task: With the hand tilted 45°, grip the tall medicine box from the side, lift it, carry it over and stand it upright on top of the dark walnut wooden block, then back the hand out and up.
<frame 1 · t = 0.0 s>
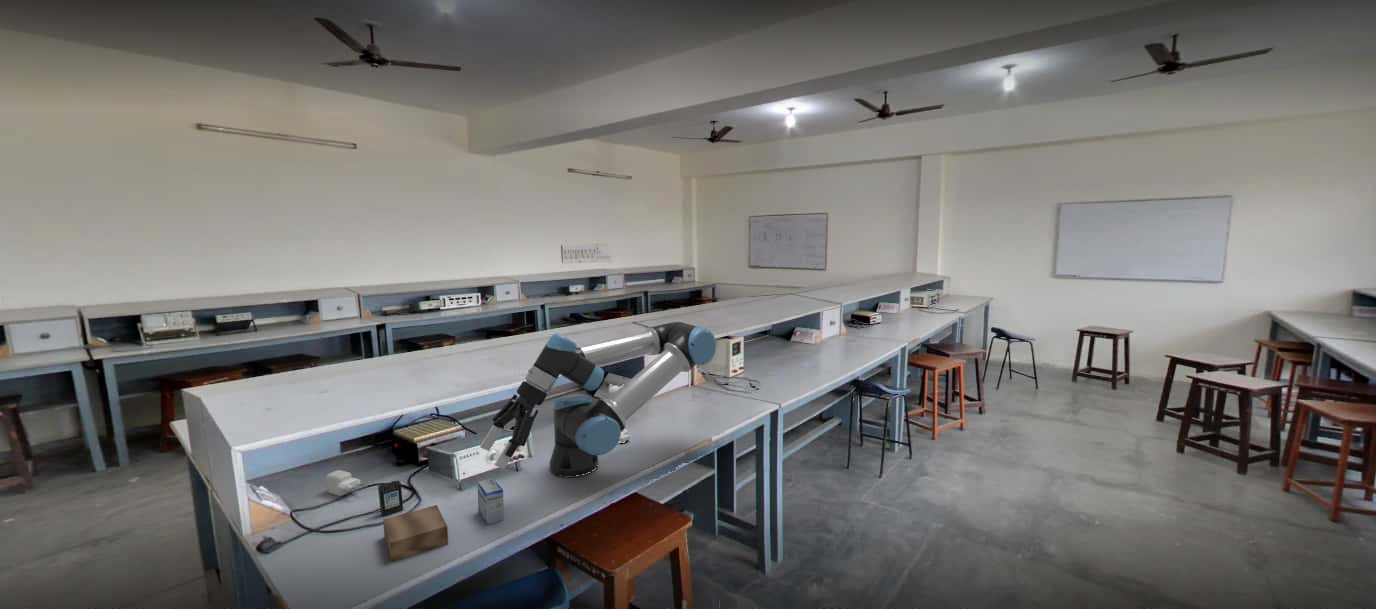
hand: (491, 457, 139), 15 cm above the table, tool tilted 35°, fingers open, 13 cm apart
power adapter: (346, 495, 150), on the table
ink cartridge: (391, 512, 141), on the table
walnut block: (416, 541, 128), on the table
joystick: (618, 438, 193), on the table
medicine box: (491, 517, 139), on the table
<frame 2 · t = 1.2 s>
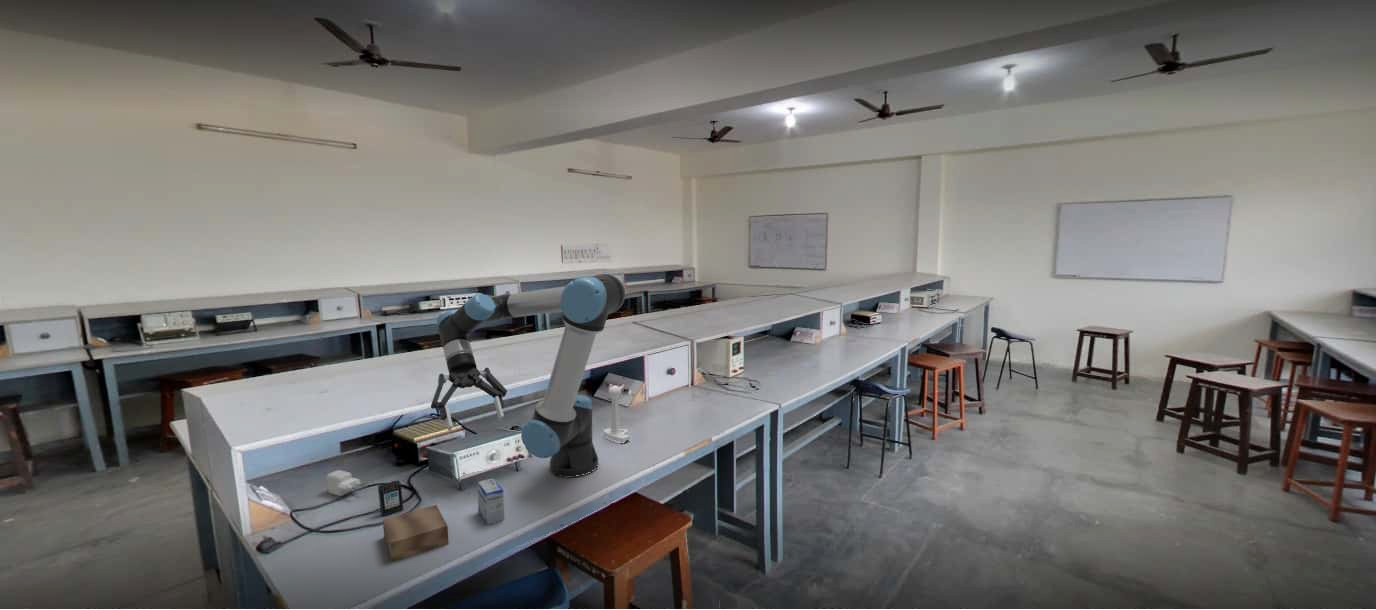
hand: (476, 423, 146), 22 cm above the table, tool tilted 45°, fingers open, 13 cm apart
nothing on the table moved.
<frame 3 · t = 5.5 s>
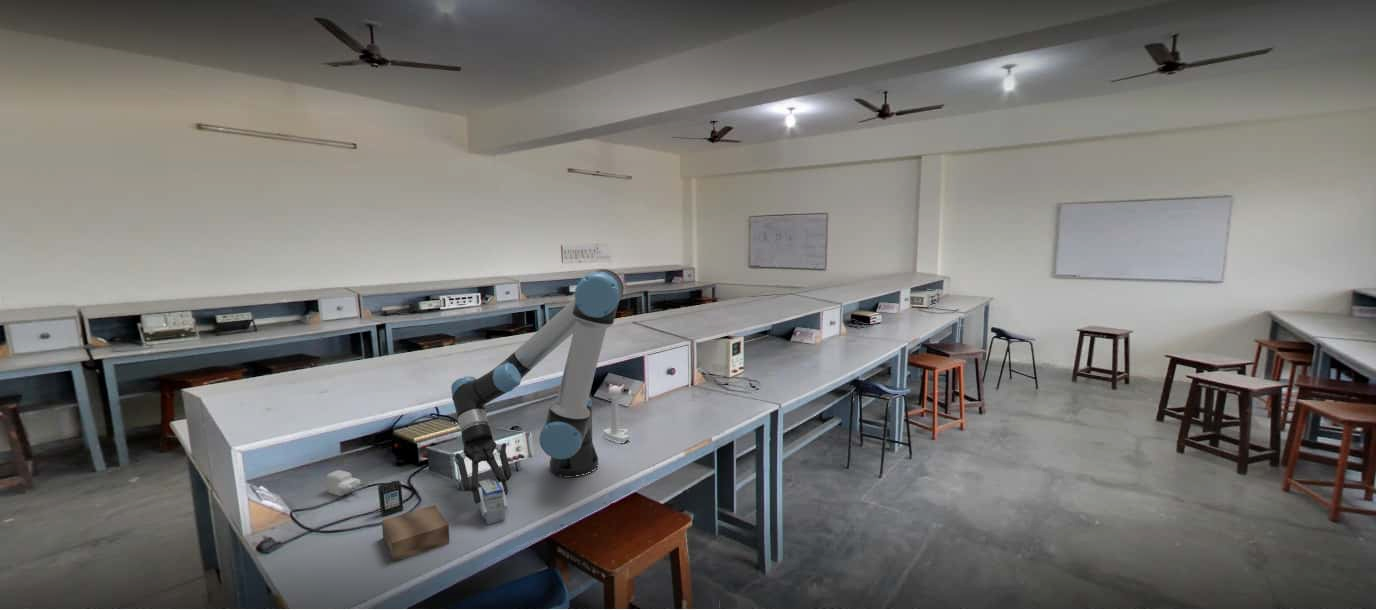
hand: (495, 510, 136), 3 cm above the table, tool tilted 45°, fingers closed on medicine box, 4 cm apart
medicine box: (491, 516, 139), on the table, touching gripper
everything else where it was.
when the fingers open (10 cm above the table, at t = 9.8 s): medicine box drops 2 cm, point 4 cm above the table.
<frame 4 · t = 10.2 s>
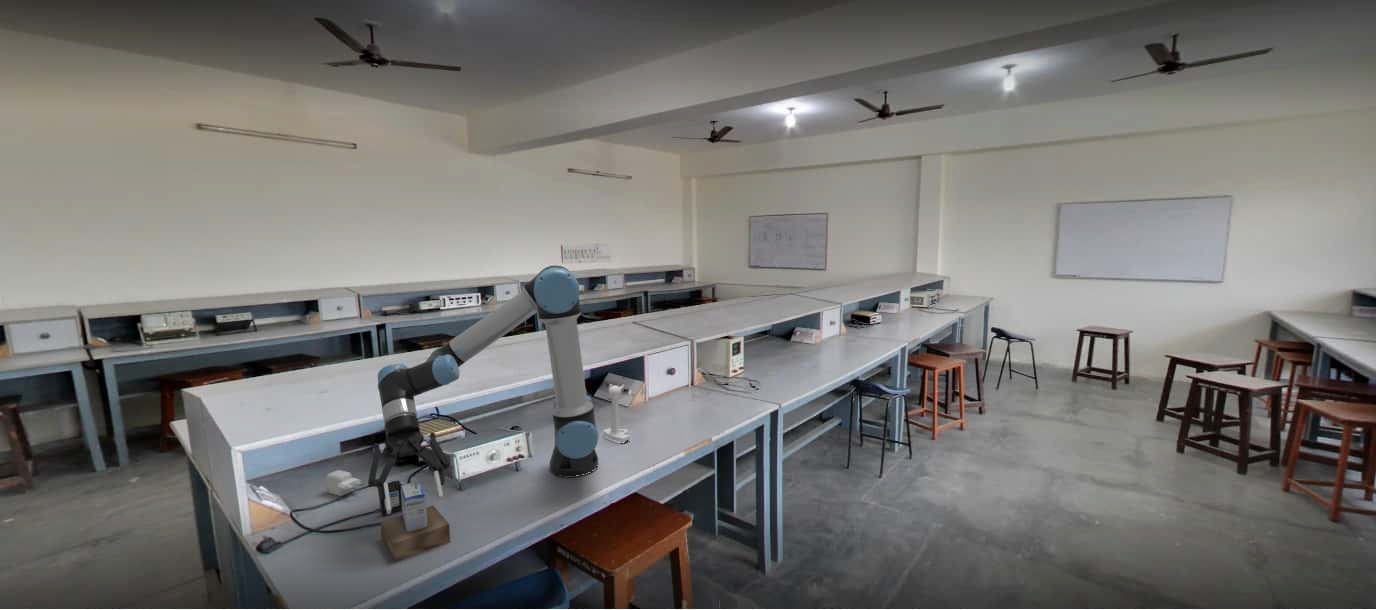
hand: (415, 504, 124), 11 cm above the table, tool tilted 45°, fingers open, 10 cm apart
medicine box: (415, 523, 128), point 4 cm above the table
everything else where it was.
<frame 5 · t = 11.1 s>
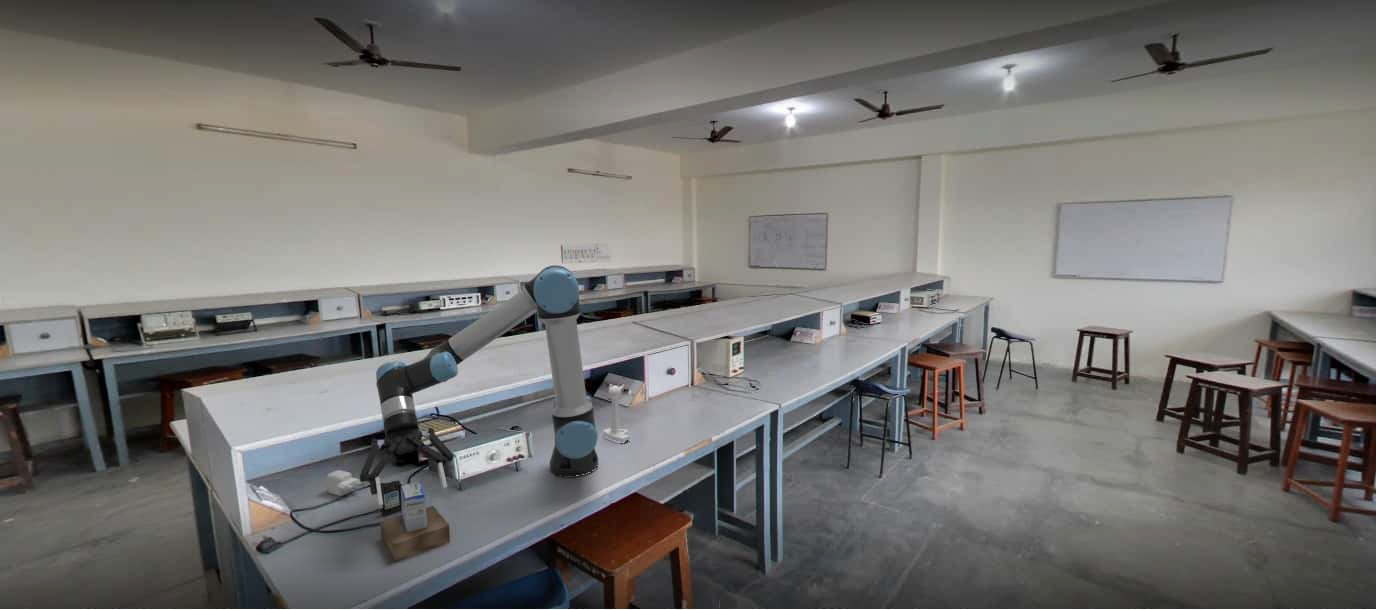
hand: (414, 497, 125), 12 cm above the table, tool tilted 45°, fingers open, 13 cm apart
walnut block: (415, 543, 128), on the table, touching medicine box
medicine box: (414, 523, 128), point 4 cm above the table, touching walnut block
everything else where it was.
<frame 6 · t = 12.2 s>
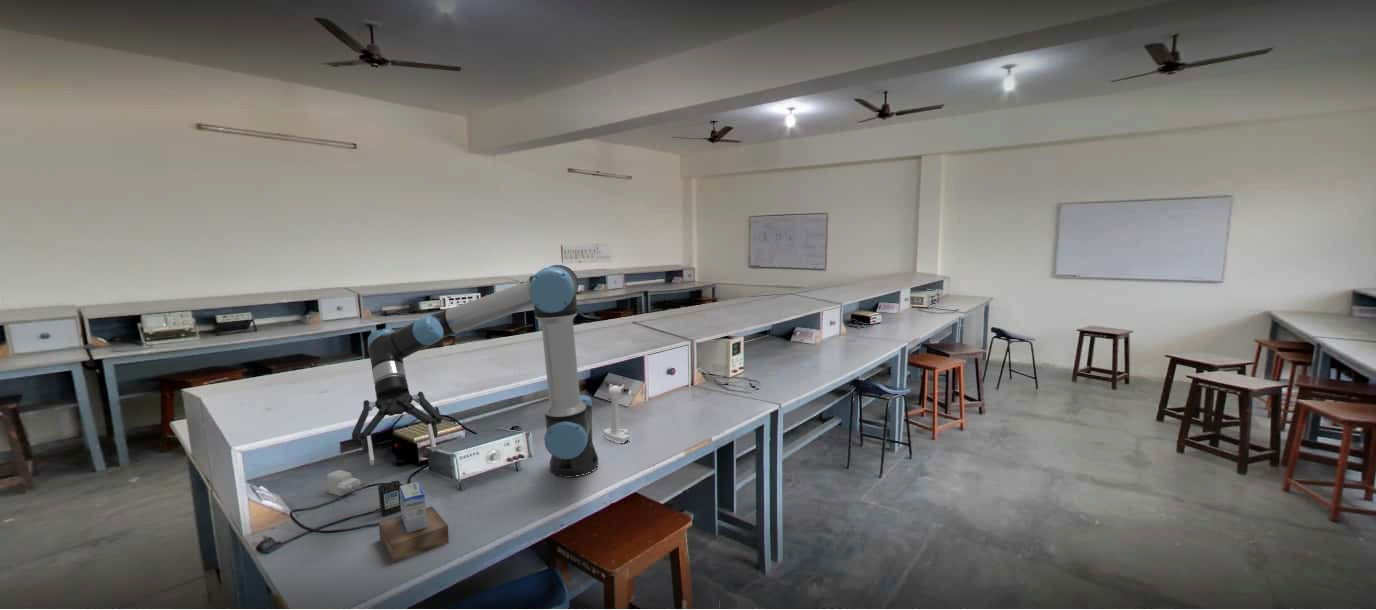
hand: (404, 455, 131), 19 cm above the table, tool tilted 45°, fingers open, 13 cm apart
walnut block: (414, 543, 128), on the table
medicine box: (414, 524, 127), point 4 cm above the table
everything else where it was.
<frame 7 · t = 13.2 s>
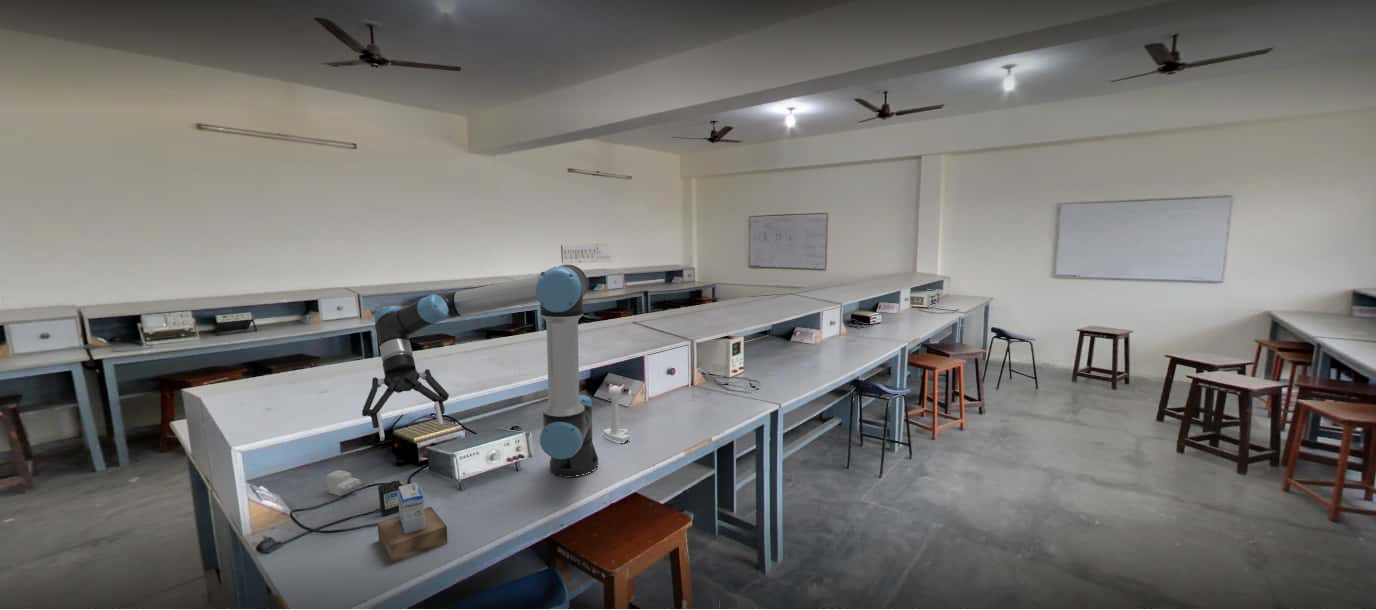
hand: (412, 432, 136), 23 cm above the table, tool tilted 40°, fingers open, 13 cm apart
walnut block: (413, 544, 128), on the table, touching medicine box
medicine box: (412, 525, 127), point 4 cm above the table, touching walnut block
everything else where it was.
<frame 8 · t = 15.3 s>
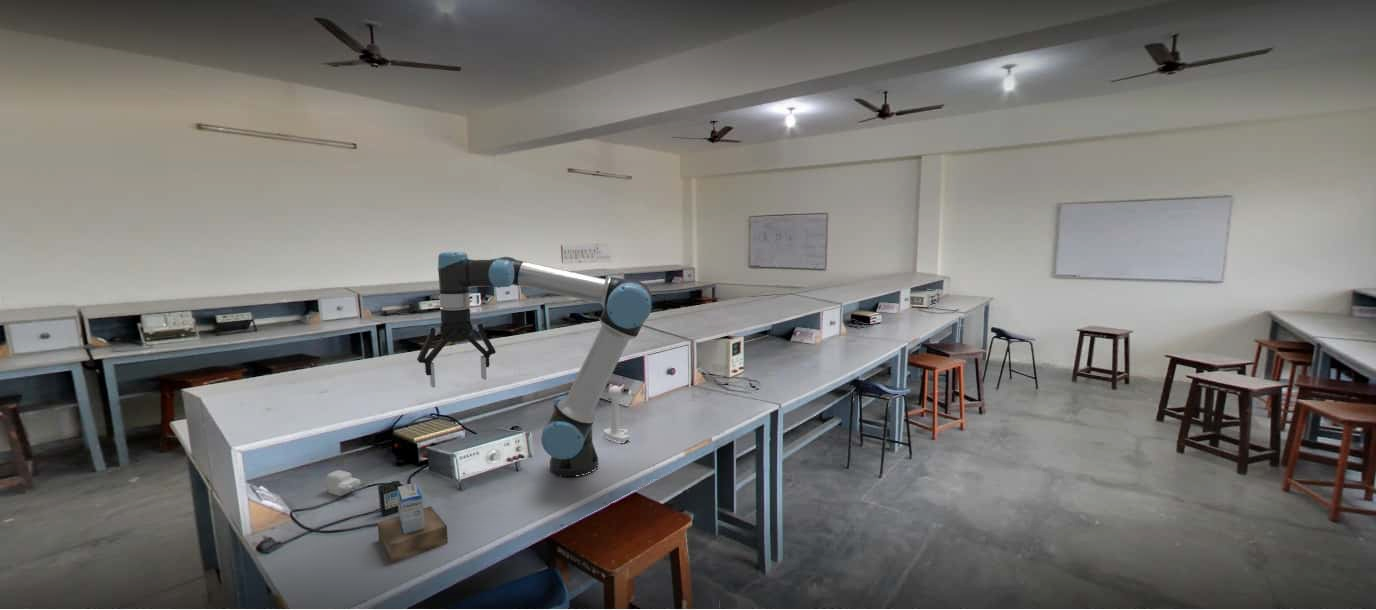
hand: (459, 382, 150), 32 cm above the table, tool pointing down, fingers open, 13 cm apart
nothing on the table moved.
at the end: medicine box inside the target area on the walnut block (0.2 cm from its centre), point 4.8 cm above the walnut block's base; medicine box tilted 1°; the gripper is holding nothing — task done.
